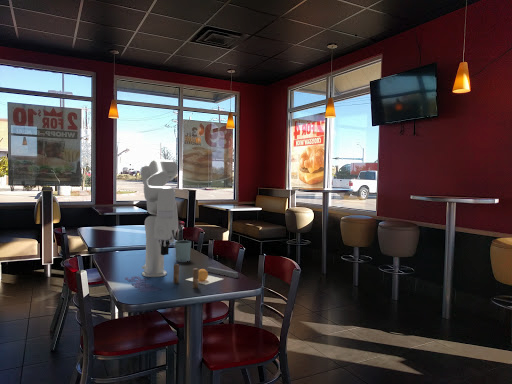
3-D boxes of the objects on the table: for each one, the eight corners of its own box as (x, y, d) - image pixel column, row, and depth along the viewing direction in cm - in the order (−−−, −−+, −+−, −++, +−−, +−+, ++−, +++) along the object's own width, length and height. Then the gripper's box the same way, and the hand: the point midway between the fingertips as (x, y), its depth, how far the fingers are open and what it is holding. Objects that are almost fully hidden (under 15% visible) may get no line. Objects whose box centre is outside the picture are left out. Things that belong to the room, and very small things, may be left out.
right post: (191, 287, 184) (192, 269, 184) (195, 286, 186) (195, 268, 186) (195, 288, 182) (196, 269, 182) (199, 287, 185) (199, 268, 184)
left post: (172, 282, 191) (172, 264, 191) (176, 281, 193) (176, 264, 193) (176, 283, 190) (176, 265, 190) (179, 282, 192) (180, 264, 192)
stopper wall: (207, 271, 216) (207, 267, 216) (209, 271, 218) (209, 266, 217) (235, 277, 205) (235, 273, 205) (237, 277, 206) (237, 272, 206)
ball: (200, 266, 200) (203, 276, 202) (192, 271, 196) (195, 282, 197) (208, 267, 196) (211, 278, 198) (200, 273, 192) (203, 284, 194)
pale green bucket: (192, 259, 248) (193, 240, 247) (188, 262, 238) (188, 243, 237) (177, 258, 249) (177, 240, 248) (172, 261, 239) (172, 242, 238)
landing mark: (185, 279, 198) (185, 279, 198) (203, 274, 209) (203, 274, 209) (206, 284, 190) (206, 284, 190) (223, 279, 201) (224, 278, 201)
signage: (123, 277, 197) (142, 275, 203) (123, 278, 197) (142, 276, 203) (140, 291, 174) (161, 288, 180) (140, 293, 174) (161, 290, 180)
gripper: (147, 213, 176) (147, 253, 177) (170, 216, 168) (169, 258, 169) (160, 212, 183) (159, 251, 183) (183, 215, 174) (182, 255, 175)
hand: (164, 254), depth 176 cm, fingers closed
